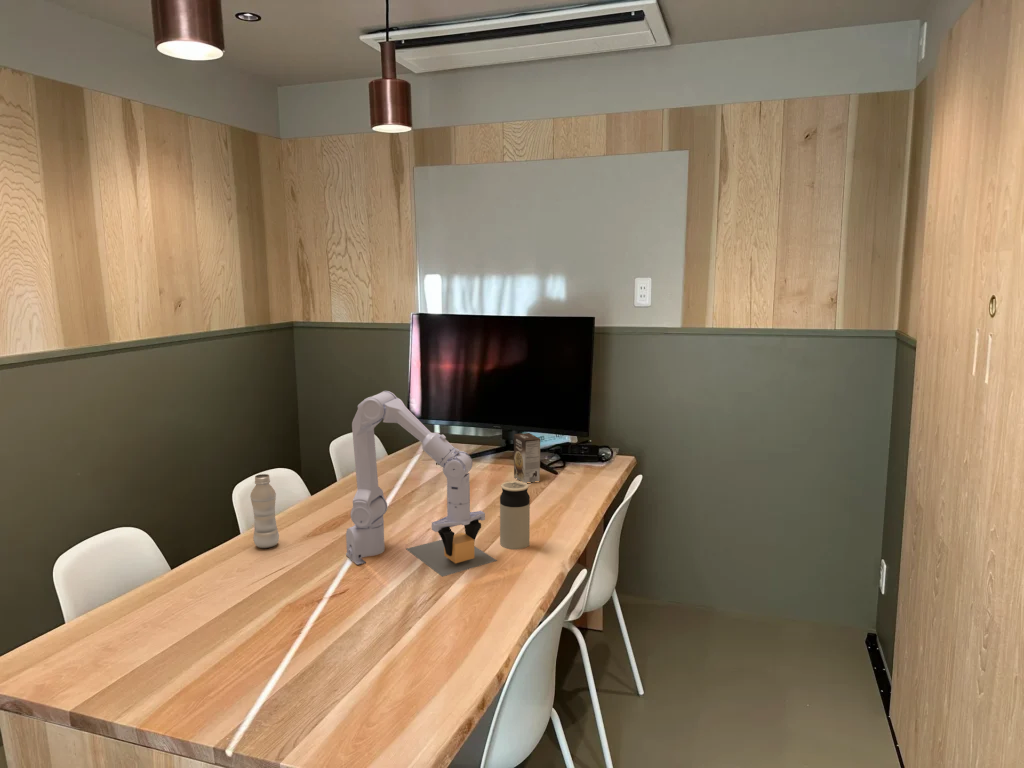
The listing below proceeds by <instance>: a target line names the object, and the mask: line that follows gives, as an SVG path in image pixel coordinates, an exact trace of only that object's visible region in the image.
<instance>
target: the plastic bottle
mask: <svg viewBox="0 0 1024 768" xmlns="http://www.w3.org/2000/svg"><path fill="white" fill-rule="evenodd" d="M270 479H271V478H270V474H268V473H267V474H266V473H261V474H256V475H255V476H254V484H255V486H254V487H253V488H252V490H251V492H250V497H249V498H250V501H251V506H252V511H253V517H254V525H253V526H254V530H253V539H252V540H253V543H254V545H255V546H256V547H257V548H259V549H260V548H261V549H267V548H268V549H269V548H272V547H275V546H277V544H278V543H279V541H280V533H279V530H278V526H277V520H276V519H277V518H276V499H277V497H276V496H277V493H276V490H275V489H274V487H273V486H272V485H271V484H270V482H271V480H270Z"/></svg>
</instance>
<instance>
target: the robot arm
mask: <svg viewBox="0 0 1024 768" xmlns="http://www.w3.org/2000/svg"><path fill="white" fill-rule="evenodd" d="M381 422H382V423H386V424H393V423H394V424H398V425H399V426H401V427H402V428H403V429H404V430H405V431H407V432H408V433H409V434H411V435H412V436H413V437H414V438H415V439H417V440H418V441H419V442H420V443H421V447H422V451H424V452H425V454H426V455H428V456H429V457H431V459H432V460H434V461H435V463H437V464H438V465H439V466H440V467H441V468H442V472H443V475H444V476H445V477H446V505H447V506H446V509H447V510H446V514H447V515H446V516H444V517H441V518H440V519H438V520H435V521H432V522H431V530H432V532H435V533H438V535H439V536H440V540H442V541H443V544H444V547H445V551H446V554H447V555H449V556H452V548H453V546H452V545H453V537H454V535H455V532H453V531H452V528H453V527H457V526H461V525H462V526H463V527H464V532H465V534H466V535H468V536H469V537H471V538H473V539H474V543H475V541H476V538H477V536H478V533H479V532H480V530H481V528H482V523H481V522H479V521H485V520H486V513H485V511H482V510H478V511H471V485H470V483H471V481H470V473H469V472H470V471H471V470H472V468H473V460H472V457H471V456H470V455H469V454H468V452H466V451H462V450H460V449H459V448H456V447H455V446H453V444H451V443H450V442H449V440H447V437H446V436H445V435H444V434H443V433H442V434H440V433H439V432H431V431H430V430H429V429H428V428H427V427H426V426H425V425H424V424H423V423H422V421H420V420H419V419H418V418H417V417H416V416H415V415H414V414H413V412H411V411H410V410H409V409H408V408H407V406H406V405H405V404H404V402H403V400H402V399H400V398H399V397H397V395H395V393H393V392H391V391H389V390H383V391H381V392H379V393H377V394H374V395H371V396H369V397H366V398H364V400H362V401H361V402H360V403H359V404H358V405H357V411H356V413H355V415H354V417H353V419H352V422H351V430H352V440H353V453H354V465H355V476H356V488H357V490H356V492H355V494H354V495H353V499H352V508H351V510H350V519H351V522H352V523H353V524H354V525H353V526H350V527H348V528H346V531H345V532H346V533H345V540H346V541H345V542H346V553H345V556H347V558H349V559H350V560H351V561H352V562H353V563H354V564H356V565H358V566H359V565H363V564H367V562H366V560H364V559H363V558H366V557H373V556H378V555H380V554H382V553H383V552H385V550H386V549H385V527H384V524H385V523H384V522H385V521H384V515H385V514H386V512H387V510H388V502H387V500H386V498H385V496H384V490H383V489H382V488H380V486H379V477H378V467H377V466H378V463H377V454H376V453H377V452H376V438H375V428H376V427H377V426H378V424H380V423H381Z"/></svg>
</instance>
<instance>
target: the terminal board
mask: <svg viewBox="0 0 1024 768" xmlns="http://www.w3.org/2000/svg"><path fill="white" fill-rule="evenodd" d="M405 549H406V550H407V551H408V552H409V553H410V554H412V555H413V556H414V557H416V558H417V559H418V560H419V561H421V562H422V563H424V564H425V565H426V566H428V567H429V568H430V569H432V570H433V571H434V572H436V574H438V575H439V576H440V577H446V576H449V575H453V574H456V573H461V572H463V571H467V570H470V569H474V568H477V567H480V566H484V565H487V564H490V563H494V562H498V560H497V559H496V558H494V557H493V556H491V555H489V554H488V553H487V552H485V551H483V550H481V549H480V548H478V547H476V545H474V558H473V559H469V560H466V561H462V562H459V563H454V562H453V561H451V560H450V559H448V558H447V557H445V556H444V544H443V541H442V539H439V540H435V541H431V542H428V543H424V544H420V545H415V546H411V547H408V548H405Z"/></svg>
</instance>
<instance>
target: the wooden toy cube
mask: <svg viewBox="0 0 1024 768" xmlns="http://www.w3.org/2000/svg"><path fill="white" fill-rule="evenodd" d="M452 546H453V548H452V556H449V555H447V554H446V551H445V547H444V556H445V557H447V558H448V559H450V560H451V561H453V562H454V563H459V562H462V561H466V560H469V559H473V558H474V546H475V542H474V539H473V538H471V537H469V536H468V535H466V534H465V533H464V532H459V533H454V537H453V545H452Z"/></svg>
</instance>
